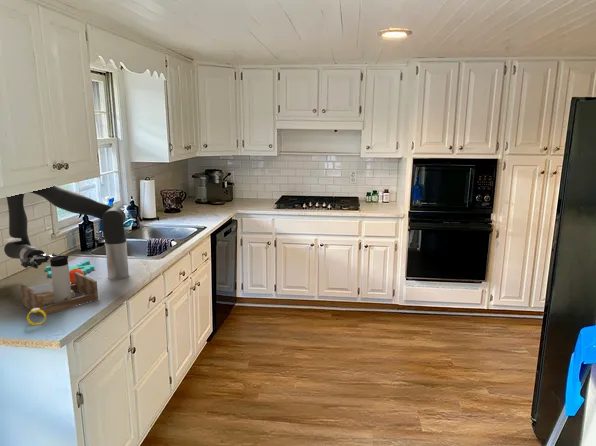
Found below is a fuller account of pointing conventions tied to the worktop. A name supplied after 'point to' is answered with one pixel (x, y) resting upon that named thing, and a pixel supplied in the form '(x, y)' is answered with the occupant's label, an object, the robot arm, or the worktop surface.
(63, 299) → the travel mug
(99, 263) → the worktop surface
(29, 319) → the watch
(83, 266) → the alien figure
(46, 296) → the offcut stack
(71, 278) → the clementine
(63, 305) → the walnut rack
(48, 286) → the mat
